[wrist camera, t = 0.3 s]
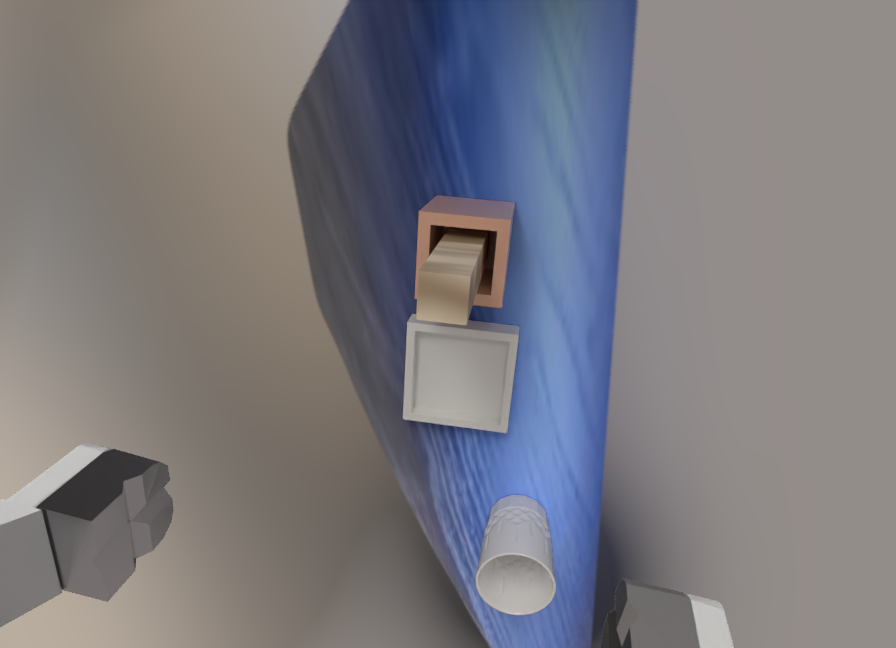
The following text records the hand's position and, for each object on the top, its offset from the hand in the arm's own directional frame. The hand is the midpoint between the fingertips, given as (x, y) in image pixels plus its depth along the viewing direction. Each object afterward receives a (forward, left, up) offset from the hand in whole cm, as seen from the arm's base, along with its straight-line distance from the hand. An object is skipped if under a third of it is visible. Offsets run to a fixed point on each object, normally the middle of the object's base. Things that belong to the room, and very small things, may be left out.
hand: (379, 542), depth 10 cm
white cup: (+37, +5, -47) cm, 60 cm away
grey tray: (+19, -3, -47) cm, 51 cm away
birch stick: (+5, -3, -46) cm, 46 cm away
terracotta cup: (+5, -3, -47) cm, 47 cm away
